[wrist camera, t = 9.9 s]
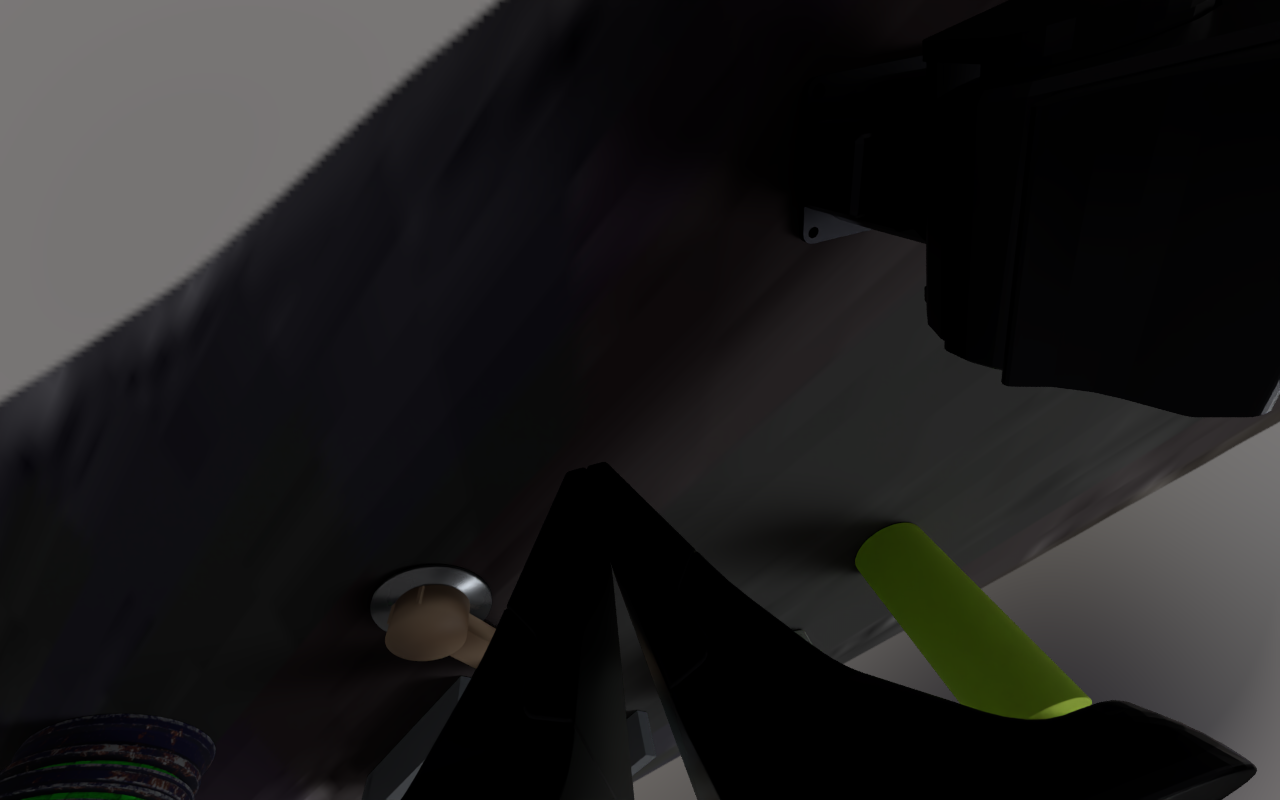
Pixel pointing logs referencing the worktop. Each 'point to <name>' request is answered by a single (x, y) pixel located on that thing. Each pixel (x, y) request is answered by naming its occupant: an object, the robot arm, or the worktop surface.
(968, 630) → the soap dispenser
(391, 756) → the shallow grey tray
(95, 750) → the storage jar
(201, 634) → the worktop surface
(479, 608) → the pivot base
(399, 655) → the lever
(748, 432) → the worktop surface
